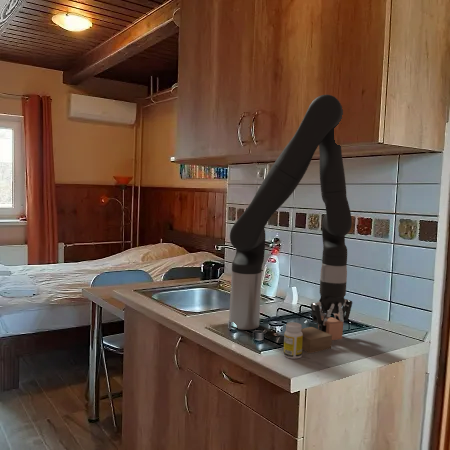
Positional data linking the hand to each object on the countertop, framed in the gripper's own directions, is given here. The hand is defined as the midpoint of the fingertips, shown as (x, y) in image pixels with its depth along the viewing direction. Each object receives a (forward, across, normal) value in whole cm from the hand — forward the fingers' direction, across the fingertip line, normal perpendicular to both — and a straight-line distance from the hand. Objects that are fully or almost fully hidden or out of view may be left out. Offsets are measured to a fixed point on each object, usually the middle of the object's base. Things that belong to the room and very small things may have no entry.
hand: (330, 335), depth 138 cm
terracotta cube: (0, 0, 0) cm, 0 cm away
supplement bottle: (+1, +19, +8) cm, 21 cm away
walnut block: (+1, +10, +4) cm, 11 cm away
